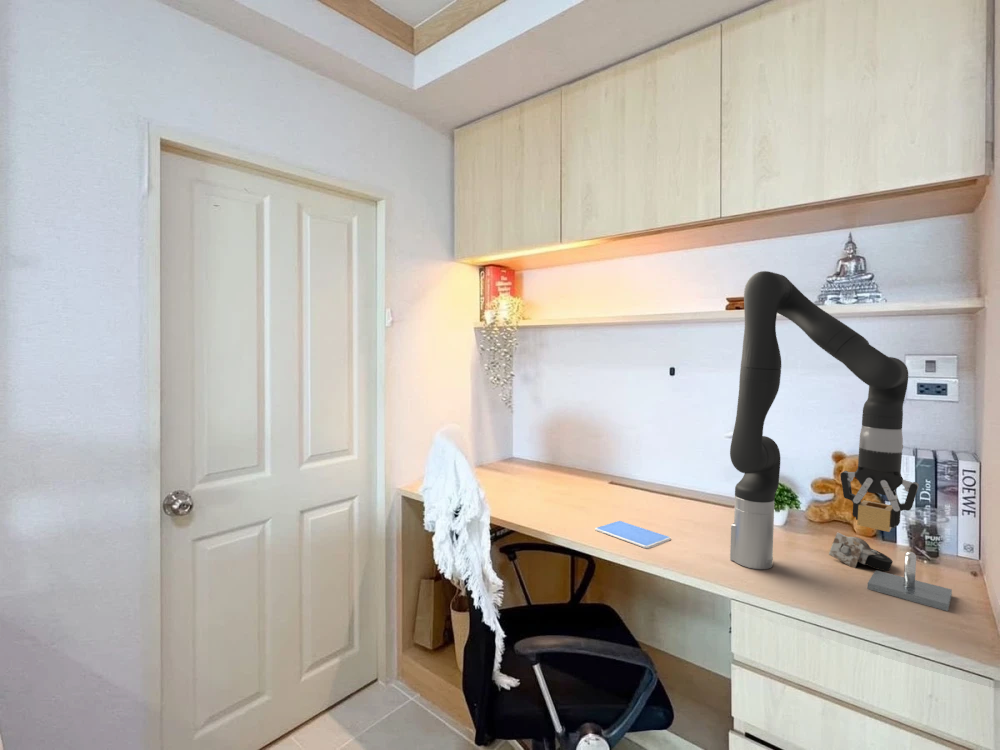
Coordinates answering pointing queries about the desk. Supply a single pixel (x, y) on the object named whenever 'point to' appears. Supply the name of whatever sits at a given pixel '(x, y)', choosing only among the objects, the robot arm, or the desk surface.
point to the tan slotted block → (874, 515)
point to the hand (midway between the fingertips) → (875, 522)
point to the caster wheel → (858, 553)
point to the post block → (910, 586)
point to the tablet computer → (633, 534)
